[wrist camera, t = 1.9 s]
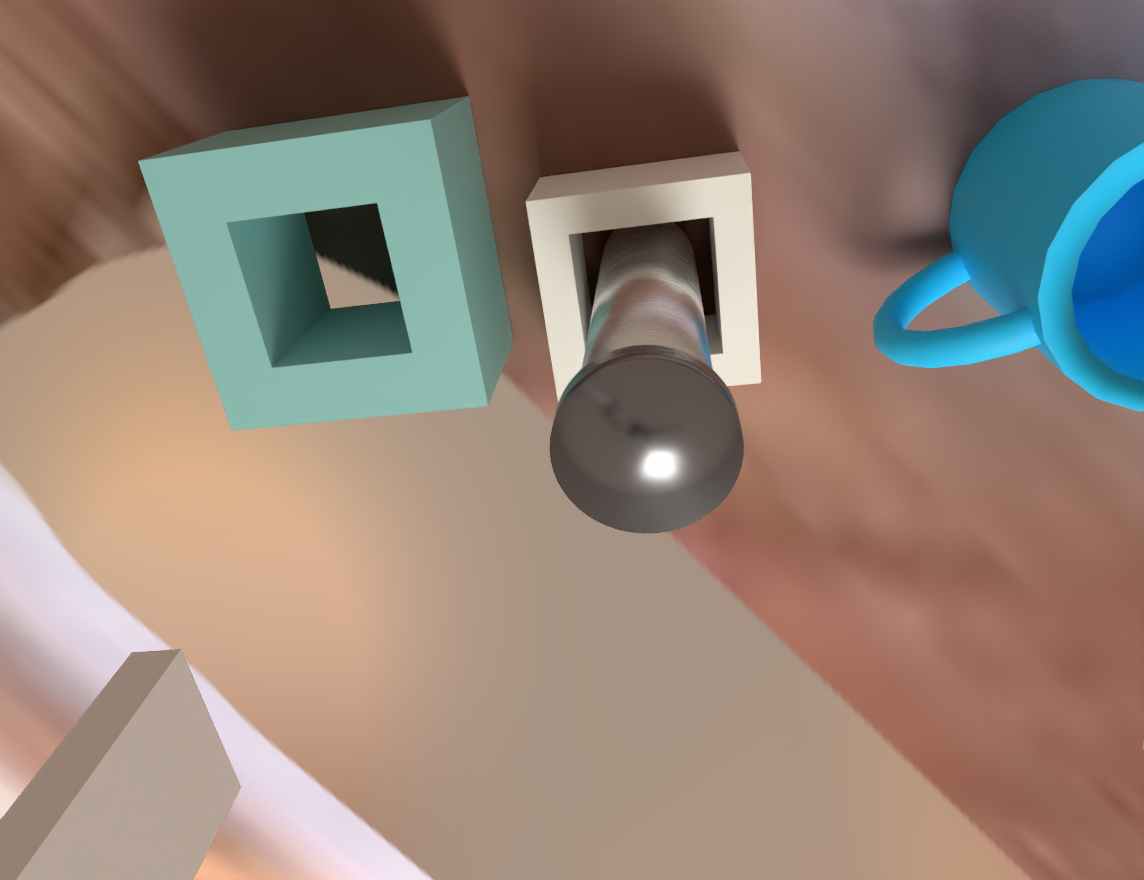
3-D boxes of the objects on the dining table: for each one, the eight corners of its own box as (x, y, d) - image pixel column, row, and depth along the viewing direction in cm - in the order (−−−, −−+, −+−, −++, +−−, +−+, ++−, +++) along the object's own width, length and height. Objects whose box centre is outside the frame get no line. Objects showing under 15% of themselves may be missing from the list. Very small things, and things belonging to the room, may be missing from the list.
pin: (598, 321, 34) (564, 539, 20) (584, 211, 32) (535, 372, 19) (709, 309, 33) (748, 525, 20) (700, 196, 31) (737, 352, 18)
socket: (294, 364, 36) (231, 430, 30) (224, 131, 32) (137, 160, 26) (513, 340, 34) (488, 405, 29) (469, 95, 30) (430, 119, 25)
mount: (567, 359, 35) (558, 402, 31) (539, 177, 31) (525, 201, 28) (749, 341, 34) (761, 382, 30) (738, 151, 31) (750, 172, 27)
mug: (1169, 27, 28) (1351, 41, 21) (1225, 253, 31) (1401, 334, 24) (808, 208, 31) (855, 275, 24) (890, 396, 34) (954, 505, 27)
